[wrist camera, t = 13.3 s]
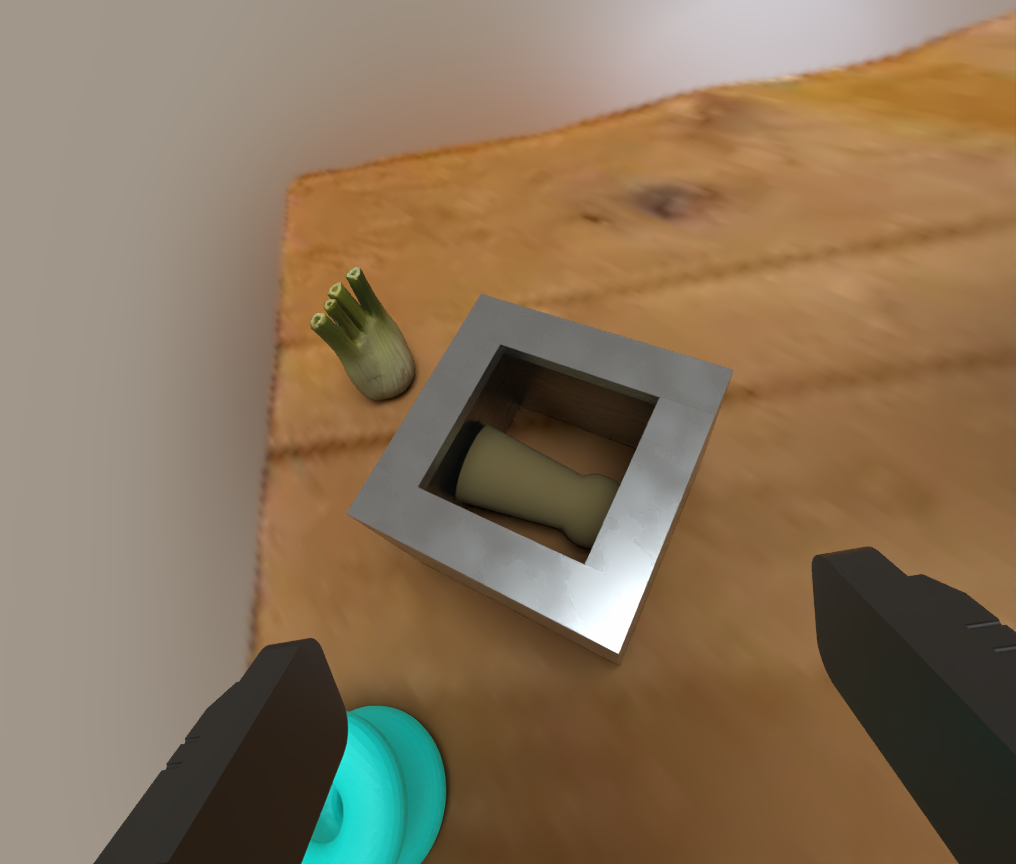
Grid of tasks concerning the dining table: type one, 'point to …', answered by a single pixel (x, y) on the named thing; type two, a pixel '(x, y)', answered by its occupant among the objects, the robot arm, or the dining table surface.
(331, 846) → the donuts
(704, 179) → the dining table surface
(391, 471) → the drop box
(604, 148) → the dining table surface
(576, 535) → the cork
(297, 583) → the dining table surface
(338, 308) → the fennel bulb
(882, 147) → the dining table surface
